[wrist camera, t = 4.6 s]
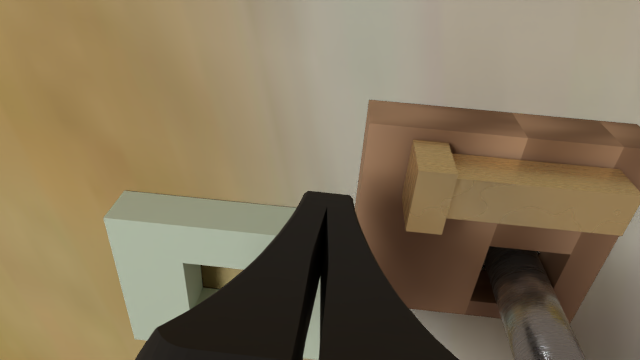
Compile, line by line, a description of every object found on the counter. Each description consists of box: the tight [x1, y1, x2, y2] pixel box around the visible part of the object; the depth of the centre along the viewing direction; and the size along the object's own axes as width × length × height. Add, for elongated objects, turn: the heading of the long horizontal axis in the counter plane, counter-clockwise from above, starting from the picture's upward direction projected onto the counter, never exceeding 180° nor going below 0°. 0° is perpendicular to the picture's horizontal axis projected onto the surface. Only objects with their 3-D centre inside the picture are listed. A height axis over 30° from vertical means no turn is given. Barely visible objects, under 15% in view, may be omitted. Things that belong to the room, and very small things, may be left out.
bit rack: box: [104, 191, 320, 360], centre depth 22 cm, size 10×8×2 cm
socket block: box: [355, 100, 640, 324], centre depth 19 cm, size 10×9×2 cm
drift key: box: [402, 139, 640, 236], centre depth 15 cm, size 7×2×2 cm, turn 87°
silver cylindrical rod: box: [484, 246, 586, 360], centre depth 18 cm, size 2×2×7 cm
